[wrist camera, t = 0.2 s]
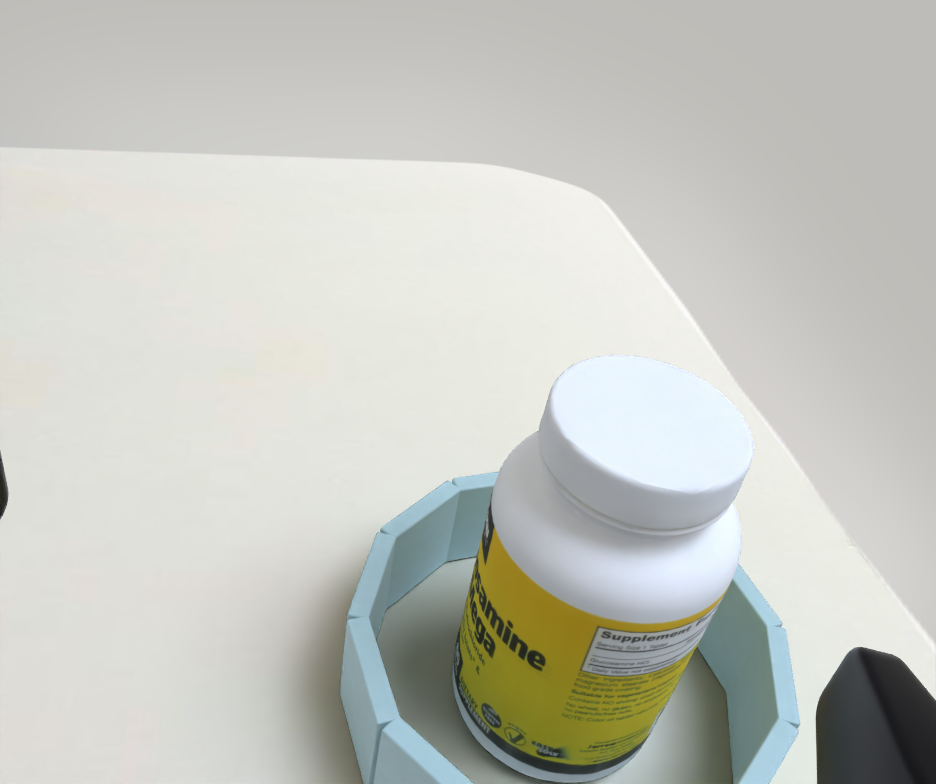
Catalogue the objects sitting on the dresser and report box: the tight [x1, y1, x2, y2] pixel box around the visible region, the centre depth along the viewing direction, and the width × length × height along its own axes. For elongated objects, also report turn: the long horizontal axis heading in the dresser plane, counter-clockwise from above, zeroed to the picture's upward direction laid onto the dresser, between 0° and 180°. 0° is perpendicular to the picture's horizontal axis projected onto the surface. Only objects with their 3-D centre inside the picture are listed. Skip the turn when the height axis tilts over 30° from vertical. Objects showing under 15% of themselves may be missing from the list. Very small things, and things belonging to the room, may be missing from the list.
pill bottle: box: [452, 355, 754, 783], centre depth 22 cm, size 6×6×11 cm
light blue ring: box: [340, 472, 800, 784], centre depth 25 cm, size 12×12×4 cm
